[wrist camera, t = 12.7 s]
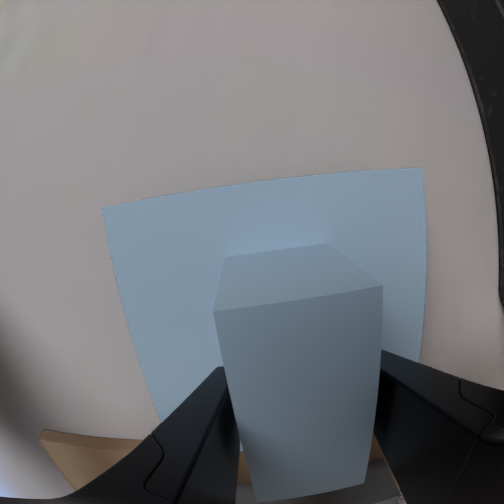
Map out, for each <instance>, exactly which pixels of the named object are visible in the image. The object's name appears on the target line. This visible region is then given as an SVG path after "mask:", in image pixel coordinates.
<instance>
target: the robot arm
mask: <svg viewBox="0 0 504 504" xmlns="http://www.w3.org/2000/svg"><path fill="white" fill-rule="evenodd" d="M373 433H374V435H375V437H376V439H377V442H378V444H379V446H380V448H381V450H382V452H383V454H384V456H385V458H386V460H387V462H388V464H389V467H390V469H391V471H392V473H393V475H394V477H395V479H396V481H397V484H398V486H399V488H400V490H401V492H402V494H403V496H404V499H405V501H406V503H407V504H504V391H503V390H499V389H495V388H491V387H487V386H484V385H480V384H477V383H474V382H471V381H468V380H465V379H462V378H460V379H459V377H456V376H454V375H451V374H448V373H445V372H442V371H440V370H437V369H434V368H431V367H428V366H426V365H423V364H420V363H417V362H415V361H412V360H409V359H407V358H404V357H401V356H399V355H396V354H393V353H391V352H388V351H386V350H383V349H381V361H380V374H379V386H378V396H377V405H376V414H375V421H374V429H373ZM151 434H152V435H151ZM151 434H149V435H148V436H147V437H146V438H145V439H144V440H143V441H142V442H141V443H140V444H139V445H137V446H136V447H135V448H134V449H133V450H132V451H131V452H130V453H128V454H127V455H126V456H125V457H123V458H122V459H121V460H119V461H118V462H117V463H116V464H114V465H113V466H112V467H110V468H109V469H107V470H106V471H105V472H103V473H102V474H100V475H99V476H97V477H96V478H95V479H93V480H92V481H90V482H89V483H87V484H86V485H84V486H83V487H81V488H80V489H78V490H77V491H75V492H73V493H72V494H69V495H67V496H64V497H61V498H55V499H23V498H8V497H0V504H235V503H236V491H237V479H238V467H239V455H240V435H239V431H238V427H237V423H236V419H235V414H234V410H233V406H232V401H231V397H230V392H229V388H228V383H227V379H226V374H225V369H224V366H219V367H216V368H215V369H214V370H213V371H212V372H211V373H210V374H209V376H208V377H207V378H206V379H205V380H204V381H203V382H202V383H201V384H200V385H199V386H198V387H197V388H196V389H195V390H194V391H193V392H192V393H191V394H190V395H189V396H188V397H187V398H186V399H185V400H184V401H183V402H182V403H181V404H180V405H179V406H178V407H177V408H176V409H175V410H174V411H173V412H172V413H171V414H170V415H169V416H168V417H167V418H166V419H165V420H164V421H163V422H162V423H161V424H160V425H159V426H158V427H157V428H156V429H155V430H154V431H153V432H152V433H151Z"/></svg>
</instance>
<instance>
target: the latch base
mask: <svg viewBox="0 0 504 504" xmlns="http://www.w3.org/2000/svg"><path fill="white" fill-rule="evenodd" d="M38 440H39V441H40V443H41V444H42V446H43V448H44V449H45V451H46V452H47V454H48V455H49V456H50V458H51V459H52V461H53V462H54V464H55V465H56V466H57V468H58V469H59V471H60V472H61V473H62V475H63V476H64V477H65V479H66V480H67V481H68V482H69V484H70V485H71V486H72V488H73V489H74V490H75V491H77V490H78V489H80V488H81V487H83V486H84V485H86V484H87V483H89V482H90V481H92V480H93V479H95V478H96V477H97V476H99V475H100V474H102V473H103V472H105V471H106V470H107V469H109V468H110V467H112V466H113V465H114V464H116V463H117V462H118V461H119V460H121V459H122V458H123V457H125V456H126V455H127V454H128V453H130V452H131V451H132V450H133V449H134V448H135V447H136V446H137V445H139V444H140V443H141V442H142V441H143V440H127V439H113V438H102V437H92V436H83V435H76V434H69V433H62V432H56V431H50V430H44V431H43V432H42V434H41V435H40V437H39V438H38ZM400 496H401V494H400V488H399V486H398V484H397V481H396V479H395V477H394V475H393V473H392V471H391V469H390V467H389V464H388V462H387V460H386V458H385V456H384V454H383V452H382V450H381V448H380V446H379V444H378V442H377V439H376V437H375V435H374V433H373V436H372V442H371V449H370V455H369V460H368V466H367V471H366V477H365V482H364V483H363V484H359V485H355V486H351V487H347V488H343V489H339V490H334V491H330V492H325V493H320V494H315V495H309V496H303V497H297V498H290V499H283V500H275V501H267V502H257V501H256V497H255V494H254V490H253V486H252V483H251V479H250V475H249V471H248V467H247V463H246V460H245V456H244V452H243V451H240V455H239V467H238V479H237V491H236V503H235V504H397V503H398V501H399V498H400Z"/></svg>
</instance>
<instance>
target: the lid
mask: <svg viewBox="0 0 504 504" xmlns="http://www.w3.org/2000/svg"><path fill="white" fill-rule="evenodd" d="M102 213H103V219H104V225H105V230H106V236H107V241H108V246H109V251H110V255H111V260H112V265H113V269H114V274H115V278H116V282H117V286H118V290H119V294H120V298H121V302H122V306H123V309H124V313H125V317H126V320H127V324H128V327H129V331H130V334H131V337H132V341H133V344H134V347H135V350H136V354H137V357H138V360H139V363H140V366H141V369H142V372H143V375H144V378H145V380H146V383H147V386H148V389H149V392H150V394H151V397H152V400H153V402H154V405H155V408H156V410H157V413H158V415H159V418H160V420H161V423H162V422H163V421H164V420H165V419H166V418H167V417H168V416H169V415H170V414H171V413H172V412H173V411H174V410H175V409H176V408H177V407H178V406H179V405H180V404H181V403H182V402H183V401H184V400H185V399H186V398H187V397H188V396H189V395H190V394H191V393H192V392H193V391H194V390H195V389H196V388H197V387H198V386H199V385H200V384H201V383H202V382H203V381H204V380H205V379H206V378H207V377H208V376H209V374H210V373H211V372H212V371H213V370H214V369H215V368H216V367H219V366H224V369H225V374H226V379H227V383H228V388H229V392H230V397H231V401H232V406H233V410H234V414H235V419H236V423H237V427H238V431H239V435H240V451H243V452H244V456H245V460H246V463H247V467H248V471H249V475H250V479H251V483H252V486H253V490H254V494H255V497H256V501H257V502H267V501H275V500H283V499H290V498H297V497H303V496H309V495H315V494H320V493H325V492H330V491H334V490H339V489H343V488H347V487H351V486H355V485H359V484H363V483H364V482H365V477H366V471H367V466H368V460H369V455H370V449H371V442H372V436H373V429H374V421H375V414H376V405H377V396H378V386H379V374H380V361H381V349H383V350H386V351H388V352H391V353H393V354H396V355H399V356H401V357H404V358H407V359H409V360H412V361H415V362H417V363H419V359H420V351H421V343H422V334H423V323H424V310H425V294H426V266H427V236H426V208H425V192H424V179H423V169H422V168H399V169H382V170H367V171H353V172H341V173H330V174H319V175H309V176H300V177H290V178H282V179H273V180H265V181H257V182H249V183H242V184H235V185H228V186H221V187H214V188H208V189H201V190H195V191H189V192H183V193H177V194H171V195H165V196H160V197H154V198H149V199H143V200H138V201H133V202H128V203H123V204H118V205H113V206H109V207H104V208H102Z"/></svg>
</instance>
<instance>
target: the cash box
mask: <svg viewBox="0 0 504 504" xmlns="http://www.w3.org/2000/svg"><path fill="white" fill-rule="evenodd" d="M438 2H439V4H440V6H441V8H442V10H443V12H444V14H445V17H446V19H447V21H448V23H449V25H450V28H451V30H452V32H453V35H454V37H455V39H456V42H457V44H458V47H459V49H460V52H461V54H462V57H463V60H464V63H465V65H466V68H467V71H468V74H469V77H470V80H471V83H472V86H473V90H474V93H475V96H476V100H477V103H478V107H479V111H480V114H481V118H482V122H483V127H484V131H485V135H486V140H487V145H488V150H489V155H490V161H491V167H492V173H493V180H494V187H495V195H496V204H497V215H498V229H499V253H500V284H499V292H500V295H501V299H502V303H503V306H504V0H438Z"/></svg>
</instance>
